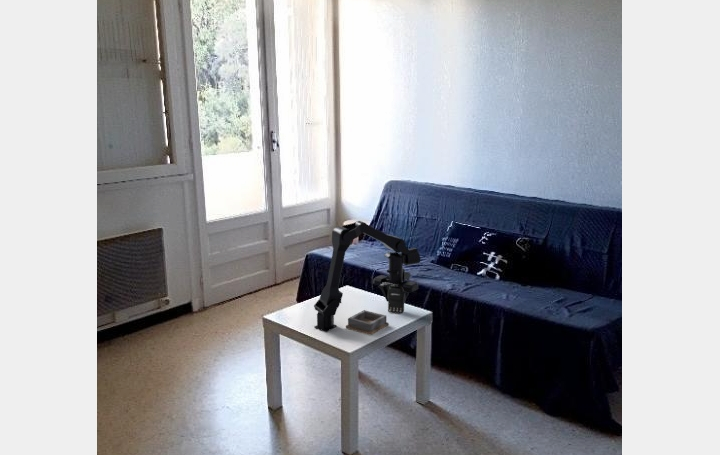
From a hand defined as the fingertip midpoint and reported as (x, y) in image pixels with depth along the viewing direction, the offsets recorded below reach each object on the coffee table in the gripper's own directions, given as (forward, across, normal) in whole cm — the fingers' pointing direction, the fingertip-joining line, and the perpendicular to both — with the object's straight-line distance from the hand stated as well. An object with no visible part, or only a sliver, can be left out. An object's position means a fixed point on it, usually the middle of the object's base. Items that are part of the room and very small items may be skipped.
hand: (395, 303), depth 241 cm
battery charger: (+4, 0, 0) cm, 4 cm away
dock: (+4, +1, +19) cm, 19 cm away
